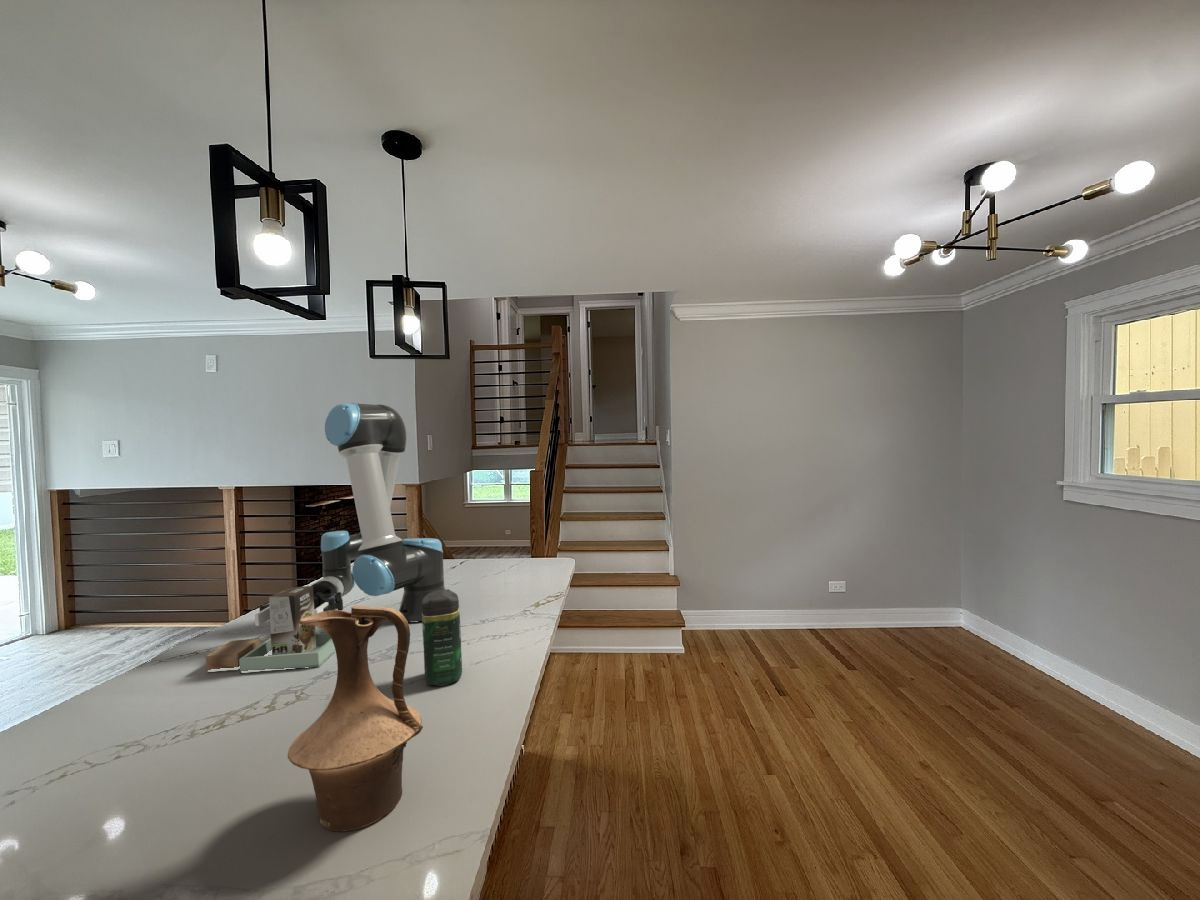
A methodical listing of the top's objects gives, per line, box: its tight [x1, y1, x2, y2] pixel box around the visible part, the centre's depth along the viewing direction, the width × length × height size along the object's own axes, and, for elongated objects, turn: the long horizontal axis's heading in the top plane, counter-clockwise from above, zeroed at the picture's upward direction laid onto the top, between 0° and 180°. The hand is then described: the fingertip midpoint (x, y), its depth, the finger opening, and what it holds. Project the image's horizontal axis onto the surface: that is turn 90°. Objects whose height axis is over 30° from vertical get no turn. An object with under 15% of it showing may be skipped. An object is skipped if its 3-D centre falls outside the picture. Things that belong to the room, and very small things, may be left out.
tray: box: [239, 631, 336, 672], centre depth 132 cm, size 18×15×4 cm
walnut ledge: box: [205, 638, 262, 671], centre depth 131 cm, size 7×10×4 cm
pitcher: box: [287, 605, 424, 832], centre depth 76 cm, size 18×17×28 cm
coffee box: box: [268, 585, 317, 655], centre depth 132 cm, size 9×6×16 cm
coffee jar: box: [421, 588, 463, 687], centre depth 117 cm, size 10×8×19 cm
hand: (286, 617), depth 129 cm, fingers open, 13 cm apart
